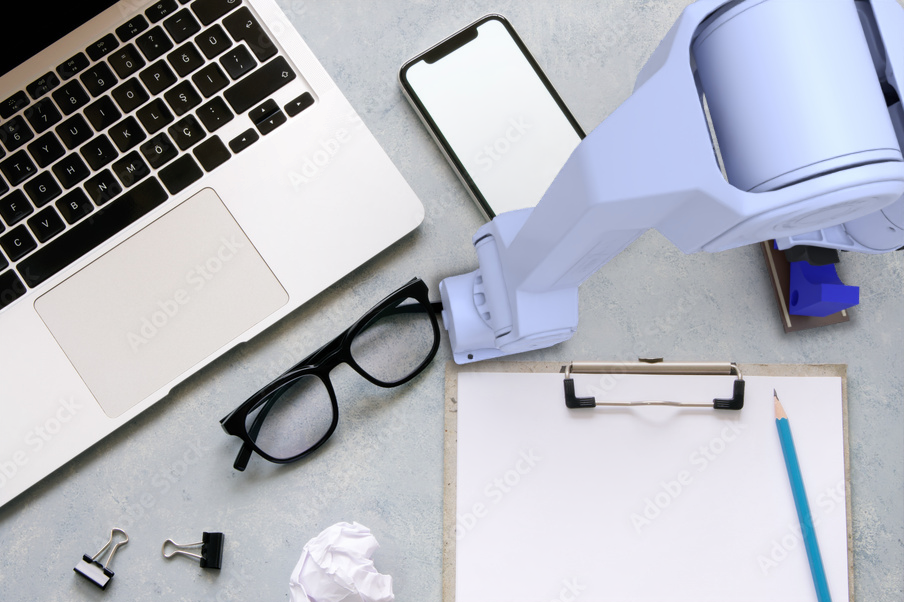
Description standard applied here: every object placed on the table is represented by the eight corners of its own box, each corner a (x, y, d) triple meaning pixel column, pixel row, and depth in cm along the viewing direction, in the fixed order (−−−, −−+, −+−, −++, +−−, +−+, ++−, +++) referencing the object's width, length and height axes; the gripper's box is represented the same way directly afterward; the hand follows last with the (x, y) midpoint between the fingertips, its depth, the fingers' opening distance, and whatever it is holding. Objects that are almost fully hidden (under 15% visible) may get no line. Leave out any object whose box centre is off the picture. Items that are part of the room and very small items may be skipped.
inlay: (785, 333, 69) (787, 332, 69) (745, 190, 71) (747, 189, 71) (848, 320, 69) (850, 320, 69) (806, 178, 72) (809, 177, 71)
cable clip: (775, 186, 70) (805, 162, 64) (825, 190, 70) (860, 165, 64) (772, 312, 68) (802, 299, 62) (823, 317, 68) (859, 304, 62)
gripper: (997, 123, 54) (881, 187, 68) (802, 161, 54) (724, 218, 68) (1027, 216, 53) (904, 262, 67) (829, 255, 53) (745, 293, 66)
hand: (815, 245), depth 67 cm, fingers closed on cable clip, 4 cm apart
